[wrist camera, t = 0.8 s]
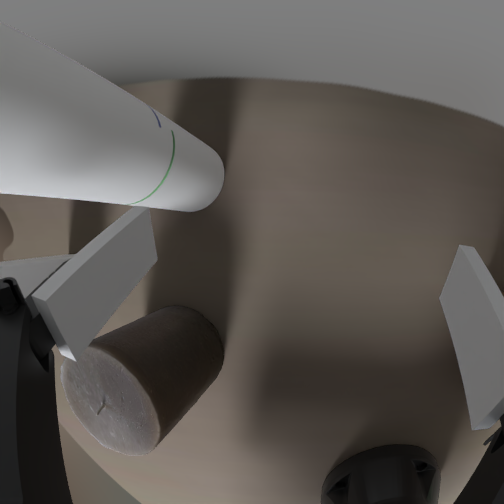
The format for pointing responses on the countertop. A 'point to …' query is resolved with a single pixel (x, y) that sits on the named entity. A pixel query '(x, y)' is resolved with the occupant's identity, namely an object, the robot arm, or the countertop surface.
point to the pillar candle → (143, 378)
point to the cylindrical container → (92, 137)
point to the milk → (31, 270)
